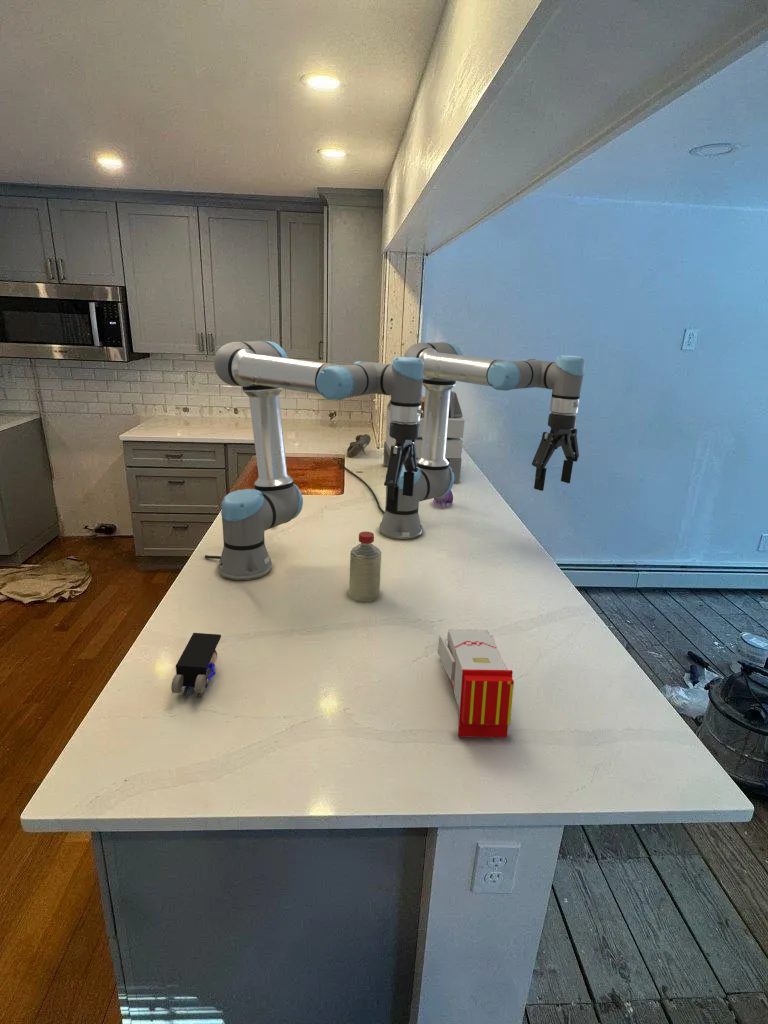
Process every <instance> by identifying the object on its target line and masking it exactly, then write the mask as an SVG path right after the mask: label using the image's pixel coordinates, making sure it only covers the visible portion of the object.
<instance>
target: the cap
mask: <svg viewBox="0 0 768 1024" xmlns="http://www.w3.org/2000/svg"><path fill="white" fill-rule="evenodd" d="M374 541H375V533H374V532H372V531H361V532H359V533H358V542H359V543H364V544H370V543H371V544H373V543H374Z"/></svg>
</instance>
